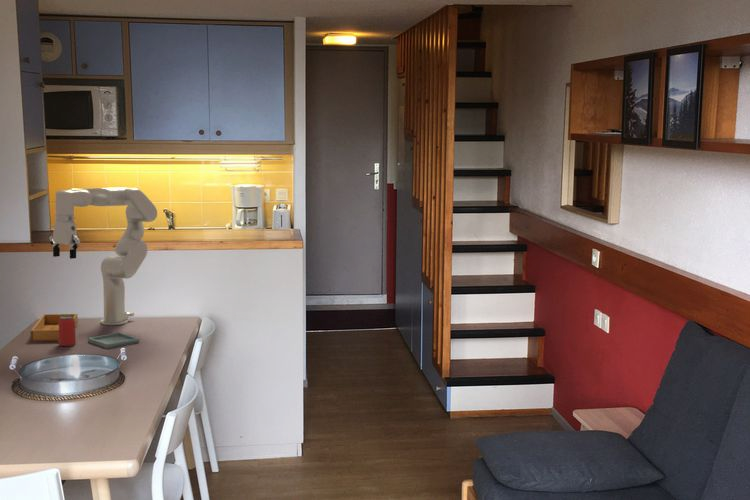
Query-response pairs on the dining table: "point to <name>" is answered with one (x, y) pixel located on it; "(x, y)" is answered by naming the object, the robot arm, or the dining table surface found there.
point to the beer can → (67, 331)
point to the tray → (48, 327)
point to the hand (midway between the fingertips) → (64, 257)
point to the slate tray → (113, 340)
